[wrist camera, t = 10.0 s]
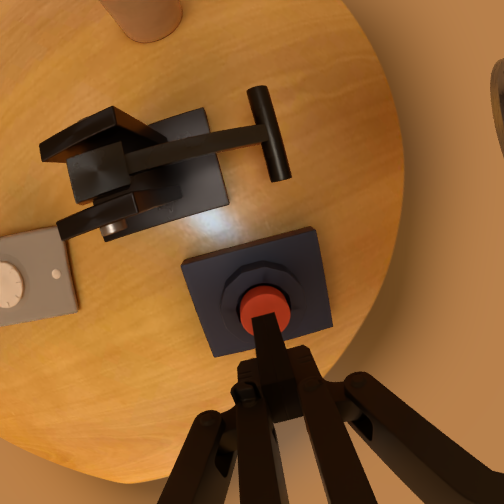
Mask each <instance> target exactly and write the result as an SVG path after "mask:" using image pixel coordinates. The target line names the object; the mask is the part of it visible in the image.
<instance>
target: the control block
mask: <svg viewBox="0 0 504 504" xmlns="http://www.w3.org/2000/svg"><path fill="white" fill-rule="evenodd" d="M181 269H182V272H183V275H184V278H185V281H186V284H187V286H188V289H189V292H190V295H191V298H192V301H193V303H194V306H195V309H196V312H197V314H198V317H199V320H200V322H201V325H202V328H203V330H204V333H205V336H206V338H207V341H208V343H209V346H210V348H211V351H212V353H213V356H214V357H220V356H224V355H229V354H233V353H238V352H242V351H246V350H251V349H255V342H254V336H253V335H251V334H250V333H248V332H247V331H246V330H245V328H244V327H243V325H242V323H241V316H240V304H241V300H242V298H243V296H244V295H245V294H246V293H247V292H248V291H249V290H251V289H252V288H254V287H257V286H263V285H266V286H272V287H274V288H277V289H278V290H279V291H281V292H282V293H283V295H284V296H285V299H286V301H287V303H288V306H289V308H290V320H289V323H288V325H287V327H286V328H285V329H284V330H283V331H282V332H281V334H282V337H283V341H286V340H289V339H293V338H296V337H300V336H303V335H307V334H310V333H314V332H317V331H320V330H324V329H327V328H330V327H333V323H332V316H331V310H330V303H329V297H328V291H327V286H326V280H325V274H324V269H323V263H322V258H321V253H320V248H319V243H318V238H317V233H316V230H315V229H314V228H312V227H311V226H309V227H306V228H302V229H298V230H294V231H290V232H287V233H283V234H279V235H275V236H271V237H268V238H264V239H260V240H256V241H252V242H249V243H245V244H241V245H237V246H234V247H230V248H226V249H222V250H219V251H215V252H211V253H208V254H204V255H200V256H197V257H193V258H189V259H185V260H184V261H183V262H182V264H181Z"/></svg>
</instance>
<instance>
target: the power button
mask: <svg viewBox="0 0 504 504" xmlns="http://www.w3.org/2000/svg"><path fill="white" fill-rule="evenodd" d="M272 312H275V315H276V318H277V321H278V325H279V328H280V331H281V332H282V331H283V330H284V329H285V328H286V327H287V325H288V323H289V320H290V308H289V306H288V303H287V301H286V299H285V296H284V295H283V293H282V292H281V291H279V290H278V289H277V288H274V287H272V286H266V285H263V286H257V287H254V288H252V289H251V290H249V291H248V292H247V293H246V294H245V295H244V296H243V298H242V300H241V304H240V316H241V323H242V325H243V327H244V328H245V330H246V331H247V332H248V333H250V334H251V335H253V336H254V334H253V327H252V320H251V318H253V317H257V316H261V315H265V314H268V313H272Z"/></svg>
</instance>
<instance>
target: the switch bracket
mask: <svg viewBox="0 0 504 504" xmlns="http://www.w3.org/2000/svg"><path fill="white" fill-rule="evenodd" d="M206 133H211V132H210V128H209V124H208V120H207V116H206V113H205V110H204V108H203V107H202V108H199V109H196V110H192V111H189V112H186V113H182V114H179V115H176V116H173V117H170V118H167V119H164V120H161V121H158V122H155V123H153V124H150V125H145V124H144V123H142V122H140V121H139V120H137V119H135V118H134V117H132V116H130V115H128V114H127V113H125V112H123V111H121V110H120V109H118V108H116V107H114V106H111V107H108V108H106V109H104V110H102V111H100V112H98V113H95V114H93V115H91V116H89V117H85V118H83V119H81V120H79V121H78V122H77V123H75V124H73V125H72V126H70V127H68V128H66V129H64V130H62V131H61V132H59V133H57V134H55V135H54V136H52V137H50V138H48V139H47V140H45V141H43V142H42V143H40V144H39V148H40V154H41V160H42V162H57V163H66V159H67V158H70V157H72V156H75V155H78V154H81V153H84V152H86V151H89V150H92V149H95V148H98V147H101V146H105V145H108V144H111V143H114V142H118V141H121V143H122V147H123V152H124V154H126V153H129V152H133V151H136V150H140V149H143V148H147V147H151V146H155V145H158V144H162V143H166V142H170V141H174V140H179V139H183V138H187V137H192V136H197V135H201V134H206ZM130 180H131V186H130V188H129V189H128V190H125V191H122V192H119V193H116V194H113V195H110V196H107V197H105V198H102V199H99V200H96V201H93V205H94V206H92V207H89V208H87V209H85V210H82V211H80V212H77V213H75V214H73V215H70V216H68V217H66V218H64V219H61V220H59V221H57V222H56V225H57V228H58V231H59V235H60V238H61V241H66V240H68V239H71V238H73V237H76V236H78V235H81V234H84V233H86V232H89V231H91V230H94V229H97V228H100V231H101V234H102V236H103V238H104V241H105V242H108V241H111V240H114V239H117V238H120V237H123V236H126V235H129V234H132V233H135V232H138V231H141V230H144V229H148V228H151V227H154V226H157V225H160V224H164V223H167V222H170V221H174V220H177V219H180V218H184V217H187V216H190V215H194V214H197V213H201V212H204V211H208V210H211V209H215V208H219V207H222V206H226V205H229V203H230V202H229V199H228V195H227V191H226V188H225V184H224V180H223V177H222V173H221V169H220V165H219V162H218V158H217V154H212V155H208V156H203V157H199V158H195V159H191V160H187V161H183V162H179V163H176V164H172V165H168V166H165V167H161V168H158V169H154V170H151V171H147V172H144V173H141V174H137V175H134V176H131V177H130Z"/></svg>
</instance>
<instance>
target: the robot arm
mask: <svg viewBox="0 0 504 504" xmlns="http://www.w3.org/2000/svg"><path fill="white" fill-rule="evenodd" d="M251 320H252V327H253V334H254V342H255V349H256V356H257V358H253V359H249V360H245V361H241V362H240V364H239V366H238V367H237V373H238V383H236V384H235V385H234V386H233V387H232V388H231V392H230V393H231V395H232V397H233V400H234V402H235V404H236V405H235V406H234V407H233V408H231V409H230V410H228V411H226V412H223V413H221V414H220V413H219V412H217V411H214V410H208V411H204V412H202V413H200V414H199V415H197V417H196V418H195V419H194V422H193V424H192V426H191V429H190V431H189V433H188V435H187V438H186V440H185V442H184V445H183V447H182V449H181V451H180V454H179V456H178V458H177V460H176V463H175V465H174V467H173V469H172V472H171V474H170V476H169V478H168V481H167V483H166V485H165V487H164V489H163V492H162V494H161V496H160V498H159V501H158V503H157V504H224V501H225V498H226V494H227V491H228V487H229V484H230V480H231V477H232V473H233V469H234V466H235V462H236V458H237V455H238V472H239V490H240V491H239V492H240V504H289V500H288V494H287V489H286V484H285V478H284V473H283V468H282V462H281V457H280V451H279V446H278V441H277V435H276V431H275V428H274V424H273V423H278V422H283V421H287V420H291V419H294V418H298V417H302V416H304V420H305V423H306V428H307V432H308V434H309V437H310V441H311V444H312V448H313V451H314V455H315V458H316V462H317V465H318V469H319V472H320V476H321V479H322V483H323V486H324V490H325V493H326V497H327V500H328V504H378V503H377V501H376V498H375V496H374V493H373V491H372V489H371V486H370V484H369V481H368V479H367V477H366V474H365V472H364V469H363V467H362V465H361V462H360V460H359V458H358V455H357V453H356V451H355V448H354V446H353V443H352V441H351V439H350V436H349V434H348V432H347V429H346V427H345V425H344V422H348V424H349V425H350V426H351V427H352V428H353V429H354V430H355V431H356V433H357V434H358V435H359V436H360V437H361V438H362V439H363V440H364V441H365V442H366V443H367V444H368V446H370V448H371V449H372V450H373V451H374V452H375V453H376V454H377V455H378V456H379V457H380V458H381V459H382V461H383V462H384V463H385V464H386V465H387V466H388V467H389V468H390V469H391V470H392V471H393V472H394V473H395V474H396V475H397V476H398V477H399V478H400V479H401V480H402V481H403V482H404V483H405V484H406V485H407V486H408V487H409V488H410V489H411V490H412V491H413V492H414V493H415V494H416V495H417V496H418V497H419V498H420V499H421V500H422V501H423V502H424V503H425V504H504V473H499V472H495V471H492V470H491V469H489V468H488V467H487V466H485V465H484V464H483V463H481V462H480V461H479V460H477V459H476V458H475V457H473V456H472V455H471V454H469V453H468V452H467V451H466V450H464V449H463V448H462V447H460V446H459V445H458V444H457V443H455V442H454V441H453V440H451V439H450V438H449V437H448V436H446V435H445V434H444V433H442V432H441V431H440V430H439V429H437V428H436V427H435V426H434V425H432V424H431V423H430V422H428V421H427V420H426V419H425V418H423V417H422V416H421V415H420V414H418V413H417V412H416V411H415V410H413V409H412V408H411V407H409V406H408V405H407V404H406V403H405V402H403V401H402V400H401V399H400V398H398V397H397V396H396V395H395V394H393V393H392V392H391V391H390V390H389V389H387V388H386V387H385V386H383V385H382V384H381V383H380V382H379V381H377V380H376V379H375V378H374V377H373V376H371V375H370V374H368V373H366V372H354V373H352V374H350V375H348V376H347V377H346V378H345V380H344V382H329V381H326V380H324V379H323V378H322V376H321V375H320V372H319V370H318V368H317V365H316V363H315V361H314V358H313V356H312V354H311V352H310V349H309V348H308V347H306V346H305V345H300V346H297V347H293V348H290V349H286V347H285V344H284V341H283V337H282V334H281V331H280V328H279V325H278V321H277V318H276V315H275V312H272V313H268V314H265V315H261V316H257V317H253V318H251Z"/></svg>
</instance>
